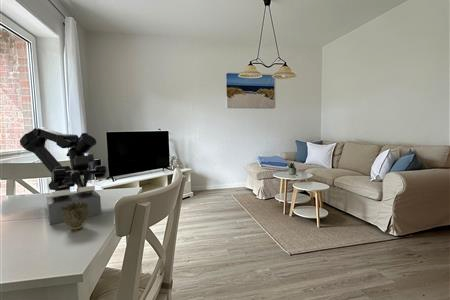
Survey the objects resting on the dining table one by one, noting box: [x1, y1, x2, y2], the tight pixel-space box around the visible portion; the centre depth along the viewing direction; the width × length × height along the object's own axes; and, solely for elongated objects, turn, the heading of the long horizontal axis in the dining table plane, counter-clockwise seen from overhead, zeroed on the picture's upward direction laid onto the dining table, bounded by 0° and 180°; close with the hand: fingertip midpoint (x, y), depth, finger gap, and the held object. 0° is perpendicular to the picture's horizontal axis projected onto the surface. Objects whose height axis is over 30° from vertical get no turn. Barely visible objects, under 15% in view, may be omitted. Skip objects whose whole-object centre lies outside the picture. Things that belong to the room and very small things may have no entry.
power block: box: [46, 190, 102, 225], centre depth 93 cm, size 12×16×7 cm
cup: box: [61, 202, 88, 232], centre depth 79 cm, size 8×7×8 cm
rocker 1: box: [51, 189, 71, 197], centre depth 89 cm, size 8×5×2 cm, turn 38°
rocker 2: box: [76, 185, 96, 194], centre depth 94 cm, size 8×5×2 cm, turn 38°
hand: (84, 191), depth 97 cm, fingers closed, pressing on rocker 2
